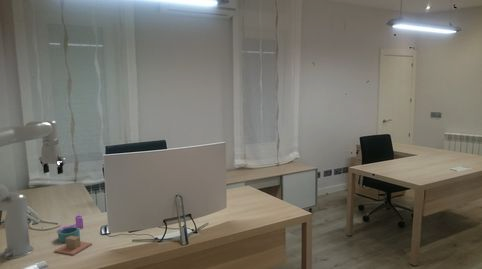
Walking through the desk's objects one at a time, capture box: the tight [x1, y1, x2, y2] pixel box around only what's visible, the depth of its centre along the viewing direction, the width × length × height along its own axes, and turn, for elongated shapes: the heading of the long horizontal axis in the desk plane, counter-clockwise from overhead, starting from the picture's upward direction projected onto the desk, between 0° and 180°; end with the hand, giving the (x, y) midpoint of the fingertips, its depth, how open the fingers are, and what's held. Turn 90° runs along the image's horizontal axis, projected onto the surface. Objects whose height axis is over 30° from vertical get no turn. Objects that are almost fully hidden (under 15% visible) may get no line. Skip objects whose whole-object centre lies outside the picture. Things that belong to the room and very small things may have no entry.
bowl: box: [57, 227, 81, 244], centre depth 188 cm, size 10×10×5 cm
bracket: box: [58, 214, 84, 232], centre depth 203 cm, size 13×6×7 cm, turn 119°
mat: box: [53, 246, 91, 257], centre depth 176 cm, size 13×13×1 cm
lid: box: [53, 236, 93, 256], centre depth 175 cm, size 12×12×6 cm
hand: (53, 173), depth 190 cm, fingers open, 9 cm apart
